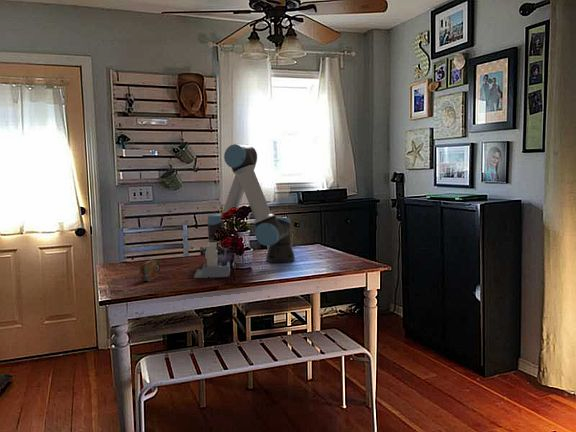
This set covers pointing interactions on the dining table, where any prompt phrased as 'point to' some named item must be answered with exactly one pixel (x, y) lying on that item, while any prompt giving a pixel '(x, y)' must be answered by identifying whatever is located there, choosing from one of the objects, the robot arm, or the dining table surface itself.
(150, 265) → the mottled brown flat piece
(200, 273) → the rack
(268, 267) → the dining table surface
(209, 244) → the cream upright slab
